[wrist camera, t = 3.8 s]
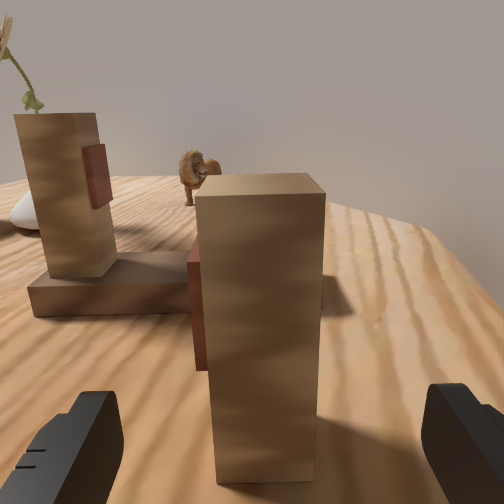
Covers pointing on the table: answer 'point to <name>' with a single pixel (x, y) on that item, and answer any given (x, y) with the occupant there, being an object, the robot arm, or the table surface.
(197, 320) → the tall wooden pillar
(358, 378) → the table surface
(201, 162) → the lion figurine
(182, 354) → the table surface
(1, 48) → the flower in vase
